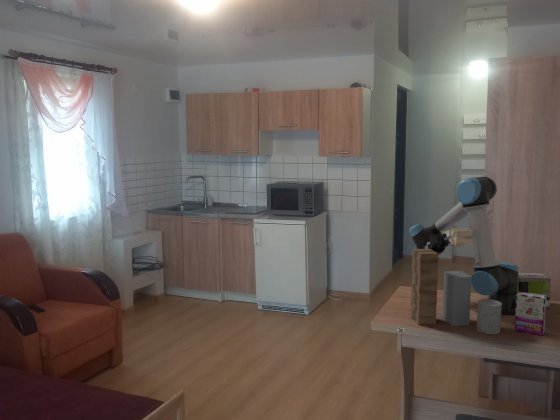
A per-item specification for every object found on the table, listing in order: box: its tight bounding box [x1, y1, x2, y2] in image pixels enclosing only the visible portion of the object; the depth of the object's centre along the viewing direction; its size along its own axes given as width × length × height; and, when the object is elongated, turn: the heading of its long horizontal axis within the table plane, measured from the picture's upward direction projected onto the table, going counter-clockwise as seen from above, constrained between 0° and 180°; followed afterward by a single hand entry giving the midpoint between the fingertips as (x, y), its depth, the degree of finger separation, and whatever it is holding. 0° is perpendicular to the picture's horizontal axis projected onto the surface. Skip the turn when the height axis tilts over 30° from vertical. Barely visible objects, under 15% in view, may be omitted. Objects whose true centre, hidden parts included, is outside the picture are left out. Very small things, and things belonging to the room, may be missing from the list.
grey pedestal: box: [441, 270, 472, 327], centre depth 230 cm, size 10×8×22 cm
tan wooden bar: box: [442, 227, 473, 248], centre depth 231 cm, size 20×7×7 cm, turn 6°
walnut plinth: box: [410, 248, 440, 326], centre depth 231 cm, size 10×8×32 cm
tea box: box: [517, 272, 551, 308], centre depth 254 cm, size 15×10×15 cm, turn 84°
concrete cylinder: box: [476, 298, 502, 335], centre depth 221 cm, size 10×10×12 cm
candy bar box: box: [514, 292, 547, 336], centre depth 218 cm, size 11×5×16 cm, turn 56°
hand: (453, 232), depth 231 cm, fingers closed on tan wooden bar, 3 cm apart
